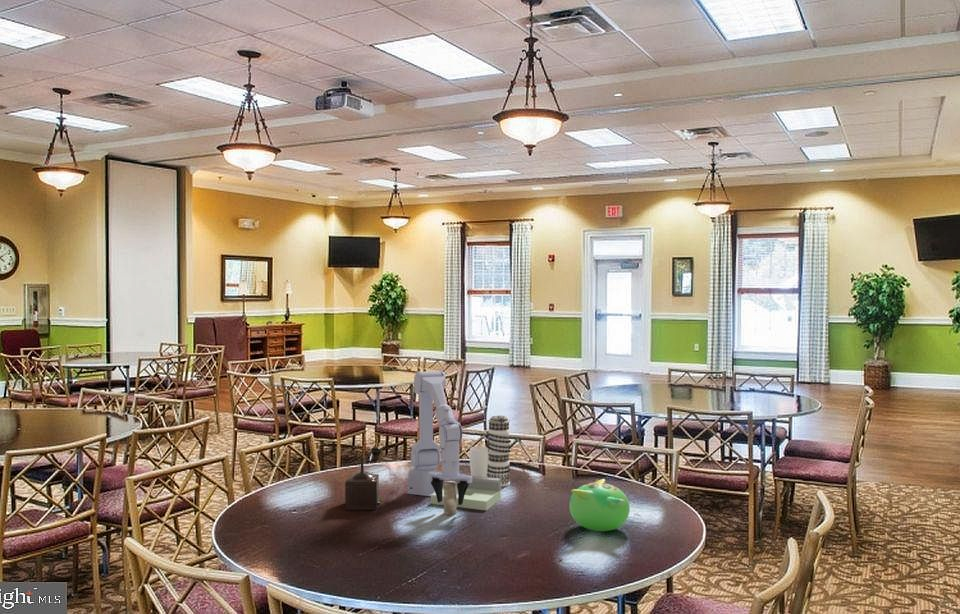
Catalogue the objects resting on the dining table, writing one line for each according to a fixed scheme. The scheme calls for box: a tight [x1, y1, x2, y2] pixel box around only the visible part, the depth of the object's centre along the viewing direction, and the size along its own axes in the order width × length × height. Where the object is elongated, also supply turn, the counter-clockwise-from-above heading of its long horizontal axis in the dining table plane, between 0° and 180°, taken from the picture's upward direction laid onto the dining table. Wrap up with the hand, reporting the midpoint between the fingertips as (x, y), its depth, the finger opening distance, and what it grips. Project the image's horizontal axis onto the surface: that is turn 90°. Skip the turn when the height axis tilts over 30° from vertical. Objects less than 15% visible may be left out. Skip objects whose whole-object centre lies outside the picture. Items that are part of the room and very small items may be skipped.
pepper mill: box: [344, 446, 383, 512], centre depth 246 cm, size 16×11×18 cm
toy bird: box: [569, 478, 630, 532], centre depth 221 cm, size 18×17×15 cm
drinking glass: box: [469, 445, 489, 477], centre depth 263 cm, size 7×7×15 cm
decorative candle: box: [486, 415, 512, 488], centre depth 271 cm, size 9×9×25 cm
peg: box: [443, 480, 457, 516], centre depth 236 cm, size 4×4×10 cm
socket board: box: [430, 474, 502, 511], centre depth 249 cm, size 20×14×7 cm
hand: (450, 502), depth 236 cm, fingers open, 7 cm apart
